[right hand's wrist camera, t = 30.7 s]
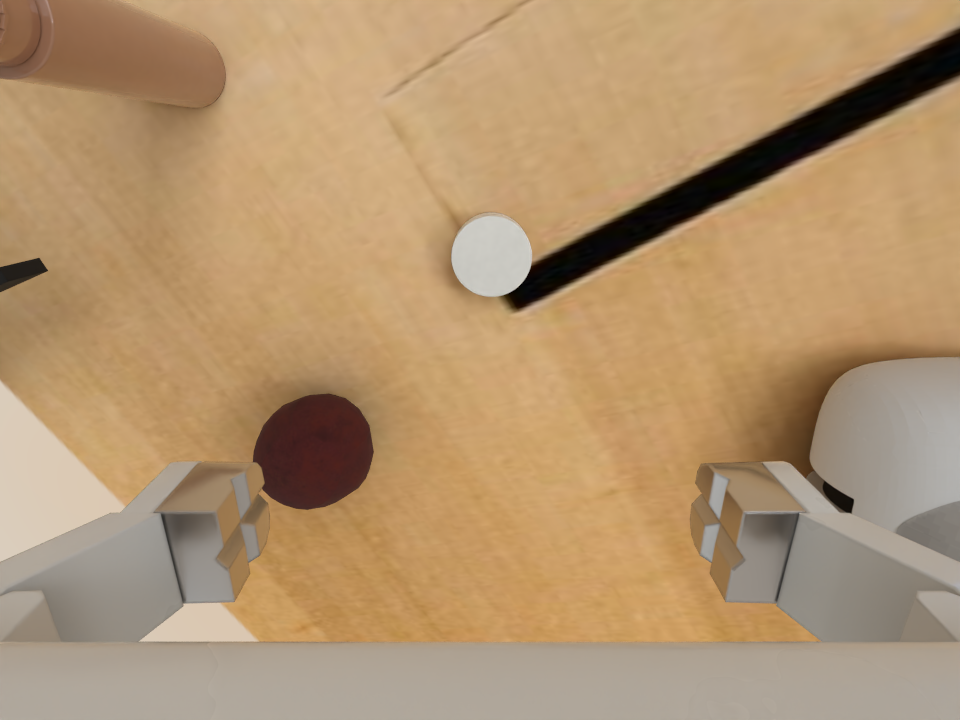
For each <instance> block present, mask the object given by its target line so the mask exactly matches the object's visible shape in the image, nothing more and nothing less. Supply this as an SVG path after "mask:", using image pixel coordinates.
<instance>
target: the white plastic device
mask: <svg viewBox="0 0 960 720" xmlns="http://www.w3.org/2000/svg"><path fill="white" fill-rule="evenodd" d="M810 463H811V465H812V467H813V469H814V470H815V471H813V472H811V473H810V474H809V475H808V476H807V478H806V480H807V481H808V482H809V483H811V484H812V485H813V486H814V487H815V488H816V489H817V490H818V491H819V492H820V493H821V494H822V495H823V496H824V497H825V498H826V499H827V500H828V501H829V502H830V503H831V504H832V505H833V506H834V507H835V508H836V509H837V510H838V511H839V512H840V513H851V514H853V515H855V516H857V517H860V518H862V519H864V520H866V521H869V522H871V523H873V524H875V525H877V526H880V527H882V528H884V529H886V530H889V531H891V532H893V533H895V534H898V535H900V536H902V537H904V538H907V539H909V540H911V541H913V542H916V543H918V544H920V545H922V546H925V547H927V548H929V549H931V550H934V551H936V552H938V553H940V554H943V555H945V556H947V557H949V558H952V559H954V560H956V561H958V562H960V357H929V358H910V359H896V360H888V361H880V362H874V363H870V364H865V365H862V366H859V367H856V368H853V369H851V370H849V371H847V372H846V373H844V374H843V375H842V376H841V377H839V378H838V379H837V380H836V381H835V383H834V384H833V385H832V386H831V388H830V389H829V391H828V393H827V395H826V397H825V399H824V401H823V404H822V406H821V409H820V412H819V415H818V419H817V423H816V427H815V431H814V436H813V441H812V446H811V451H810Z"/></svg>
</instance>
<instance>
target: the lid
mask: <svg viewBox="0 0 960 720" xmlns="http://www.w3.org/2000/svg"><path fill="white" fill-rule="evenodd" d="M451 261H452V266H453V270H454V273H455V275H456V277H457V278H458V280H459V281H460V282H461V283H462V285H463V286H465V287H466V288H467V289H468V290H470V291H471V292H473V293H475V294H478V295H481V296H486V297H496V296H501V295H505V294H507V293H509V292H511V291H513V290H514V289H516V288H517V287H518V286H519V285H520V284H521V283H522V282H523V281H524V279H525V278H526V276H527V274H528V273H529V270H530V267H531V262H532V250H531V245H530V242H529V240H528V238H527V236H526V234H525V232H524V230H523V229H522V227H521V226H520V225H519V224H518V223H517V222H516V221H515V220H513V219H512V218H510V217H508V216H506V215H503V214H500V213H492V212H490V213H483V214H479V215H476V216H474V217H472V218H471V219H469V220H468V221H467V222H466V223H464V224H463V226H462V227H461V228H460V229H459V231H458V233H457V235H456V237H455V240H454V243H453V247H452V252H451Z"/></svg>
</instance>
